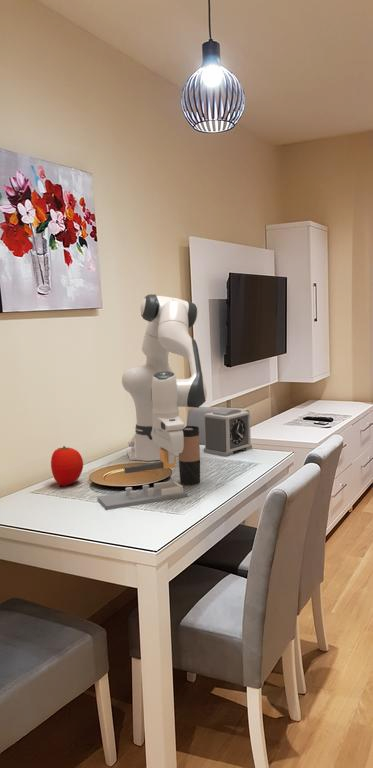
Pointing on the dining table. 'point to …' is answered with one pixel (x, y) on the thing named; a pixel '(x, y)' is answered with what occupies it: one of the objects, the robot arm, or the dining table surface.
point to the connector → (152, 464)
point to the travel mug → (190, 457)
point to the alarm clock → (227, 431)
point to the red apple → (66, 465)
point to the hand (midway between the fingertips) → (167, 461)
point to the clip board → (143, 495)
